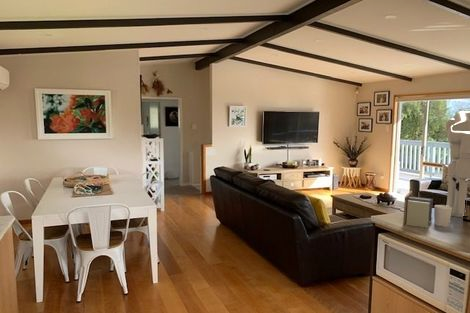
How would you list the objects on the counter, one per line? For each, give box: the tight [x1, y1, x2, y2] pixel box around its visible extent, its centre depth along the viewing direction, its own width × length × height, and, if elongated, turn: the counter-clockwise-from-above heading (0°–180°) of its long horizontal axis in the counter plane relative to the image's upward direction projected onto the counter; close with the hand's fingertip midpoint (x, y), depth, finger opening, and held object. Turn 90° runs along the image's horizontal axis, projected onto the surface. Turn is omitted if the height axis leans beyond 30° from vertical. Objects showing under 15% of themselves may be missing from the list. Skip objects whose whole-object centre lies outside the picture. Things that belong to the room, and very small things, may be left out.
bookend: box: [412, 196, 433, 222], centre depth 196 cm, size 6×10×12 cm, turn 55°
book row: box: [405, 196, 430, 229], centre depth 183 cm, size 6×10×14 cm, turn 55°
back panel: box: [402, 190, 413, 225], centre depth 192 cm, size 19×1×15 cm, turn 145°
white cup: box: [433, 204, 452, 228], centre depth 184 cm, size 8×8×10 cm
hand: (465, 191), depth 177 cm, fingers open, 6 cm apart
